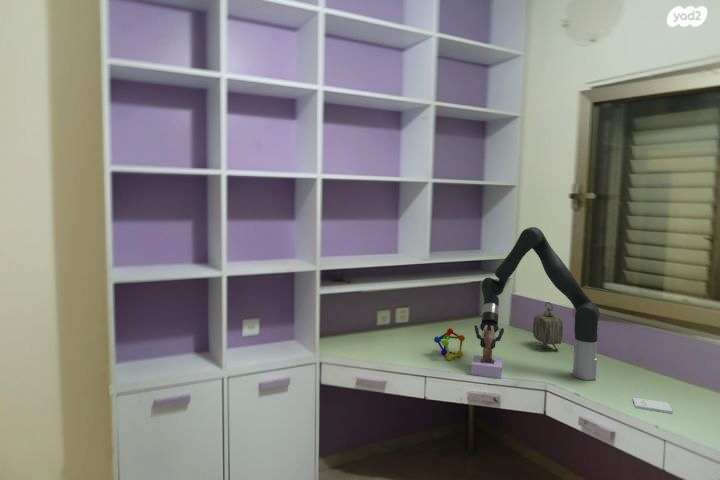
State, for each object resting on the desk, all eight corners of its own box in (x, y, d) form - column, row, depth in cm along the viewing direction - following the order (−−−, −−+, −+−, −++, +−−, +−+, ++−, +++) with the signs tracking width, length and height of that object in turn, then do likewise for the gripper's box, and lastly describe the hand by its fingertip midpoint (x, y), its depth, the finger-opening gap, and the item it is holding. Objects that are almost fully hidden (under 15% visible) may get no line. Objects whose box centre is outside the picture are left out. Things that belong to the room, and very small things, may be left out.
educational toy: (442, 352, 252) (445, 323, 251) (465, 358, 244) (467, 328, 243) (427, 357, 240) (430, 327, 239) (450, 363, 232) (453, 332, 231)
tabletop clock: (561, 352, 251) (564, 305, 248) (545, 353, 249) (548, 306, 247) (546, 343, 265) (548, 299, 262) (531, 344, 263) (533, 299, 261)
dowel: (491, 359, 224) (493, 330, 222) (491, 362, 220) (492, 333, 219) (482, 358, 225) (484, 329, 224) (482, 361, 221) (483, 332, 220)
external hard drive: (672, 415, 183) (635, 409, 188) (668, 406, 190) (632, 400, 195) (672, 411, 183) (635, 404, 187) (668, 402, 190) (632, 396, 195)
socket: (501, 368, 227) (502, 358, 227) (501, 378, 215) (501, 367, 214) (473, 364, 231) (474, 354, 231) (471, 374, 219) (471, 364, 218)
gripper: (474, 309, 229) (471, 341, 219) (505, 312, 225) (504, 345, 215) (475, 317, 235) (471, 349, 225) (505, 320, 231) (503, 353, 221)
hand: (487, 347), depth 220 cm, fingers closed on dowel, 4 cm apart
